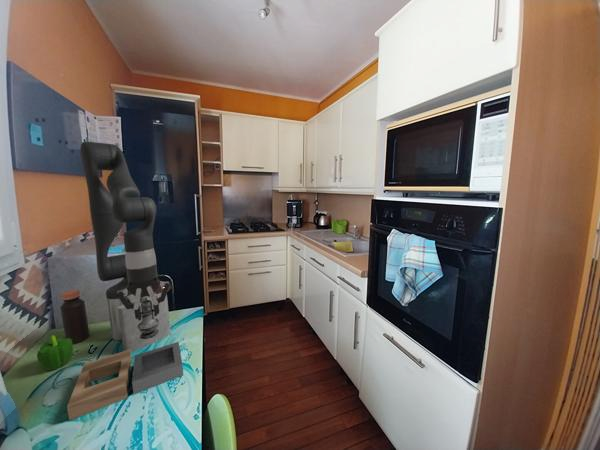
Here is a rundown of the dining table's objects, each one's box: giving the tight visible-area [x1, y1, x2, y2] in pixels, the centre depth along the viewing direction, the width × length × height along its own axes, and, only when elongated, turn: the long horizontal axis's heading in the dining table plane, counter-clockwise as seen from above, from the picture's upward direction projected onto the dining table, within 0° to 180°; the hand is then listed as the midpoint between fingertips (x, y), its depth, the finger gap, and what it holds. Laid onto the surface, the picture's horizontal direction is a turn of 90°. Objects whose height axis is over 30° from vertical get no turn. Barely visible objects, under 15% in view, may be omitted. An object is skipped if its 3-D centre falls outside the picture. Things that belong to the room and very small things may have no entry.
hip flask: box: [118, 292, 172, 353], centre depth 89 cm, size 16×4×20 cm, turn 140°
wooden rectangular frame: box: [66, 350, 133, 421], centre depth 70 cm, size 18×12×4 cm, turn 32°
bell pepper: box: [36, 334, 74, 371], centre depth 79 cm, size 8×8×10 cm
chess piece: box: [137, 298, 160, 339], centre depth 73 cm, size 6×6×12 cm
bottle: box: [60, 289, 90, 345], centre depth 92 cm, size 7×7×20 cm
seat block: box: [131, 341, 184, 395], centre depth 76 cm, size 13×13×4 cm
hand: (147, 316), depth 73 cm, fingers closed on chess piece, 3 cm apart
